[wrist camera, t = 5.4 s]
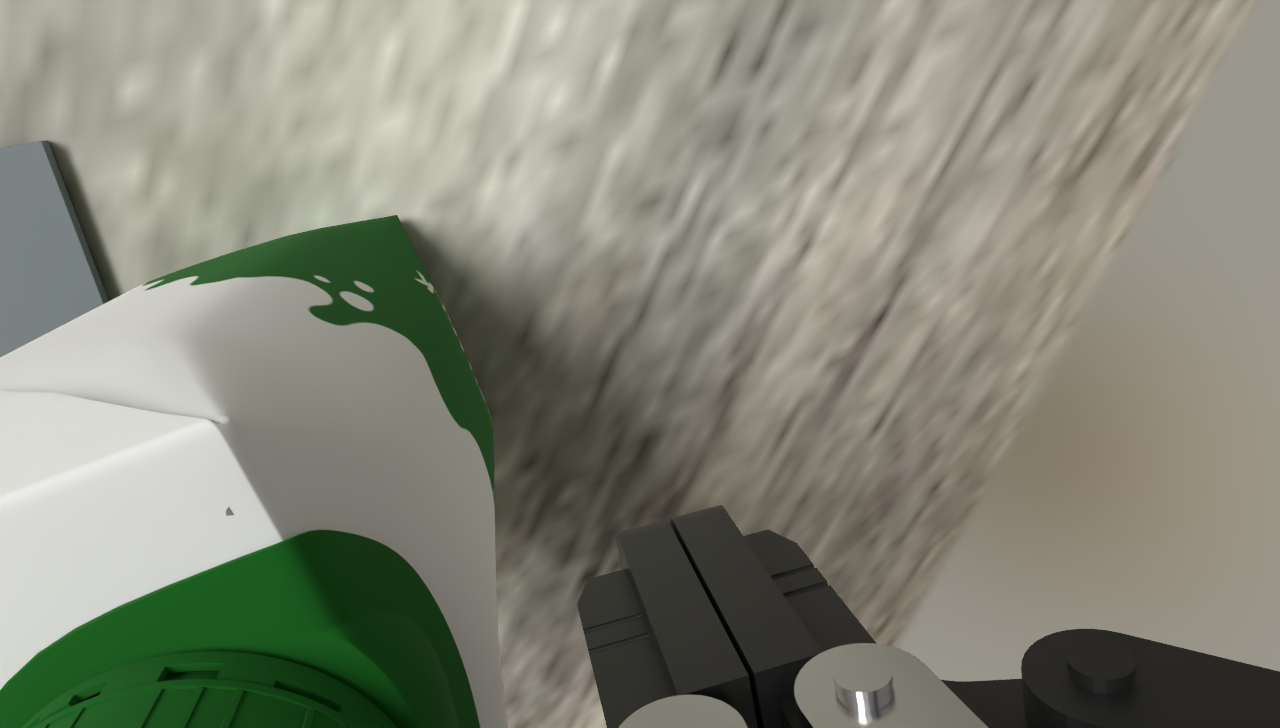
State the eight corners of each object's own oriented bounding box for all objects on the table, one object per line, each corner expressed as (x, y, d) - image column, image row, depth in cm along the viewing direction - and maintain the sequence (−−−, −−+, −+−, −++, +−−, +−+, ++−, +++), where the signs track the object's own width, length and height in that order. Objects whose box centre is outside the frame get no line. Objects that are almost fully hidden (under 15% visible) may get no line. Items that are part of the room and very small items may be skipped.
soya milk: (529, 442, 27) (632, 1237, 8) (249, 551, 26) (-347, 1676, 7) (414, 170, 24) (156, 404, 5) (98, 285, 24) (-1472, 1014, 5)
